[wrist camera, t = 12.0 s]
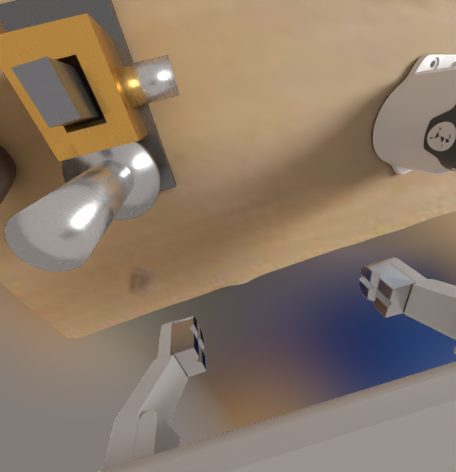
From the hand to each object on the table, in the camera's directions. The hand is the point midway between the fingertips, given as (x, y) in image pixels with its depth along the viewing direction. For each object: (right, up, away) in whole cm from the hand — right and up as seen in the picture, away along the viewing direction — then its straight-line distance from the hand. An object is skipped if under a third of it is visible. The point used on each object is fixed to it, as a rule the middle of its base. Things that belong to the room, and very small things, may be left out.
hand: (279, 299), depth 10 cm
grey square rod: (-20, +21, +19) cm, 34 cm away
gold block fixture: (-17, +21, +21) cm, 34 cm away
